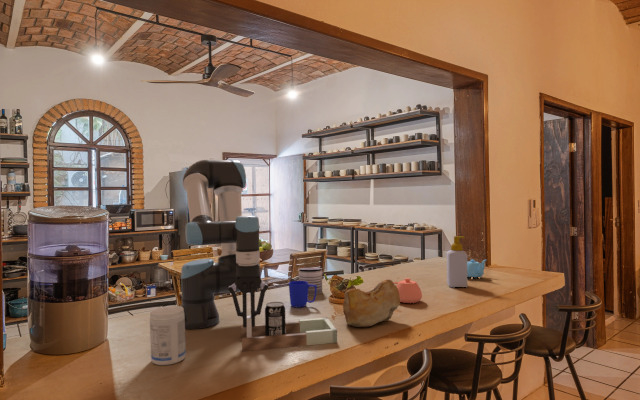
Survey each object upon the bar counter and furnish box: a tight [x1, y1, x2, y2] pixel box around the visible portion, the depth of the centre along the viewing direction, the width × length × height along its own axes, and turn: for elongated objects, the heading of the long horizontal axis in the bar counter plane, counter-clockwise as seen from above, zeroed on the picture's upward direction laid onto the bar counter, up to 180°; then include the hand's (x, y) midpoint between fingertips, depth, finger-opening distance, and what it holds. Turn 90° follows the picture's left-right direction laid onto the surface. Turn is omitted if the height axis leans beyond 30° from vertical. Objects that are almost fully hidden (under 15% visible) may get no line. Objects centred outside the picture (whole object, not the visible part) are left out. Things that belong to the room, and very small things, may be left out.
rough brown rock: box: [342, 279, 401, 328], centre depth 160 cm, size 23×17×15 cm
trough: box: [240, 320, 308, 352], centre depth 139 cm, size 20×14×4 cm
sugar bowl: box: [393, 277, 423, 304], centre depth 186 cm, size 12×14×10 cm
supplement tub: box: [149, 305, 187, 366], centre depth 124 cm, size 10×10×15 cm
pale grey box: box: [298, 317, 338, 346], centre depth 142 cm, size 10×14×4 cm
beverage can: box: [264, 301, 286, 336], centre depth 139 cm, size 7×7×12 cm
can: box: [298, 267, 323, 296], centre depth 206 cm, size 11×11×12 cm
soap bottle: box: [446, 235, 468, 288], centre depth 214 cm, size 9×9×25 cm
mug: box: [288, 280, 317, 308], centre depth 180 cm, size 8×12×10 cm
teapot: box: [467, 259, 487, 278], centre depth 234 cm, size 13×13×10 cm
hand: (249, 336), depth 137 cm, fingers closed
